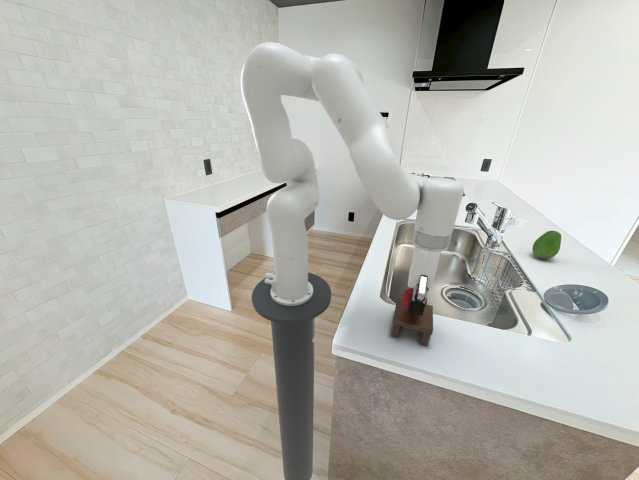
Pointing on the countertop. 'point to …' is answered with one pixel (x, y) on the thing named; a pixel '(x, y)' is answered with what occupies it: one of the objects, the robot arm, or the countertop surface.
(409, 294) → the onion
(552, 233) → the avocado
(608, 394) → the countertop surface
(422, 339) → the stand
